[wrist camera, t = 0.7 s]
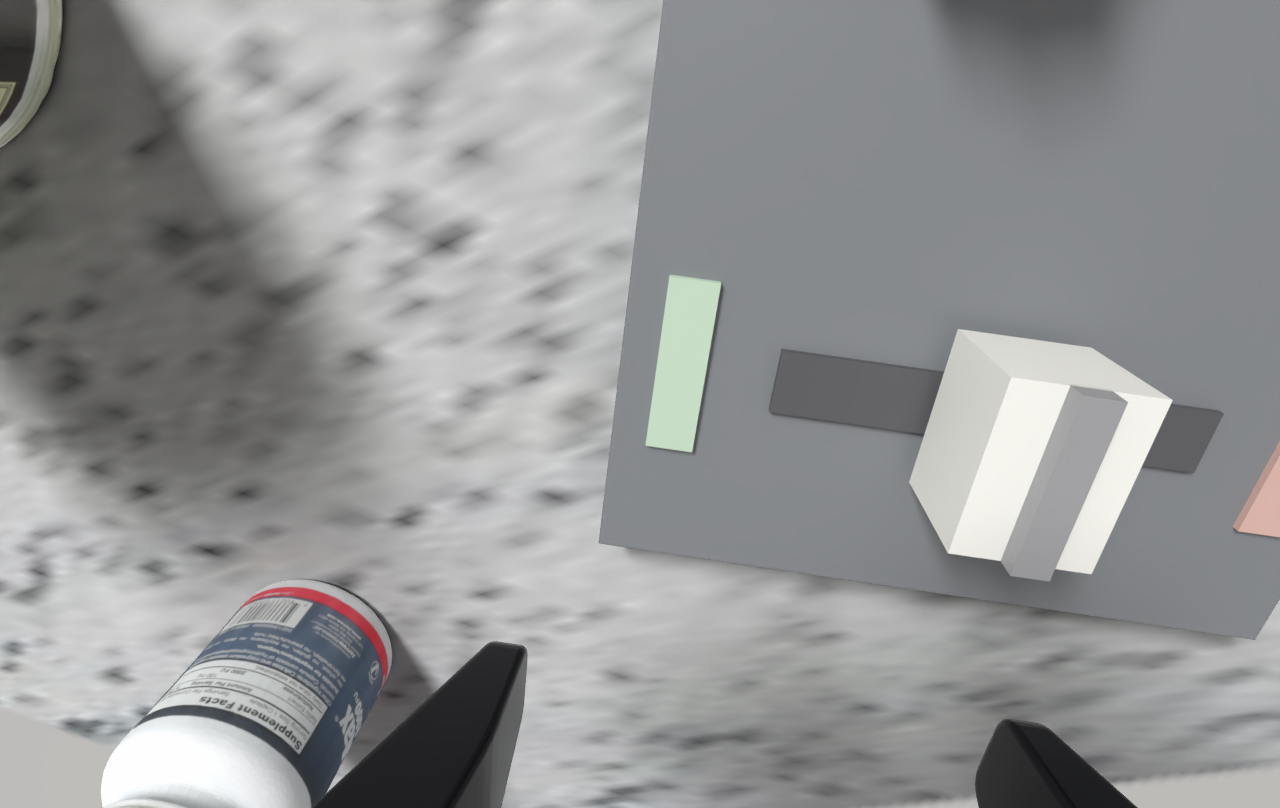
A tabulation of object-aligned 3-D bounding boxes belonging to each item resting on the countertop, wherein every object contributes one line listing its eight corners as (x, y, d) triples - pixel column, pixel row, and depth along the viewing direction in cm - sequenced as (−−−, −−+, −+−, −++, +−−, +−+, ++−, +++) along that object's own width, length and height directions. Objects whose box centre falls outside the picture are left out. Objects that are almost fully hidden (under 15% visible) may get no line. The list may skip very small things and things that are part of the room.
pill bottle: (355, 720, 25) (193, 1016, 17) (220, 648, 24) (-18, 924, 16) (423, 627, 23) (277, 911, 15) (279, 545, 22) (42, 801, 14)
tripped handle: (1091, 347, 16) (1189, 411, 13) (1030, 499, 18) (1104, 590, 14) (957, 328, 16) (1022, 387, 13) (909, 482, 18) (955, 568, 14)
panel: (1862, -536, 11) (2046, -636, 10) (1218, 604, 21) (1259, 645, 19) (747, -662, 12) (755, -778, 10) (605, 514, 21) (597, 547, 20)
